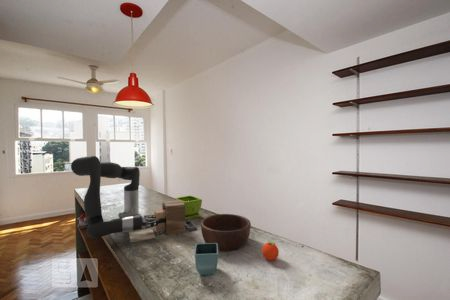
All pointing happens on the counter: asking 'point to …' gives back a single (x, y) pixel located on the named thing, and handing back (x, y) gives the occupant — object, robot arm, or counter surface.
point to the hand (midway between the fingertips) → (164, 218)
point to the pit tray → (190, 225)
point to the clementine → (270, 251)
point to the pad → (141, 235)
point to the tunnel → (174, 216)
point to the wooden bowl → (226, 231)
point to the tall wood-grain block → (162, 226)
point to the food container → (128, 213)
